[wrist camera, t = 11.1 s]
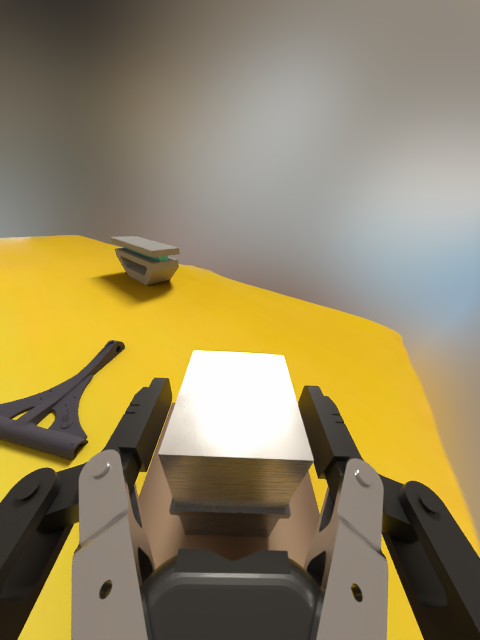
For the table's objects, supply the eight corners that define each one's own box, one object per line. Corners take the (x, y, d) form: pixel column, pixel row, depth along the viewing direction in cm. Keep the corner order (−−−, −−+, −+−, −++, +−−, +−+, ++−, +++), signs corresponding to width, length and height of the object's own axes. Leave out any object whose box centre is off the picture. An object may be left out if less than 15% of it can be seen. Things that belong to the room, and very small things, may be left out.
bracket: (162, 358, 30) (159, 344, 28) (75, 463, 17) (62, 448, 16) (85, 343, 32) (79, 330, 30) (-43, 428, 19) (-64, 412, 18)
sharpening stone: (182, 285, 56) (178, 248, 51) (158, 292, 51) (151, 250, 45) (142, 267, 69) (135, 236, 63) (119, 271, 64) (110, 237, 58)
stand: (110, 649, 10) (82, 655, 8) (176, 425, 20) (172, 402, 18) (328, 650, 10) (356, 655, 8) (284, 429, 21) (292, 408, 18)
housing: (180, 539, 11) (148, 461, 6) (199, 440, 15) (190, 348, 10) (272, 542, 11) (322, 468, 6) (263, 443, 16) (286, 353, 10)
